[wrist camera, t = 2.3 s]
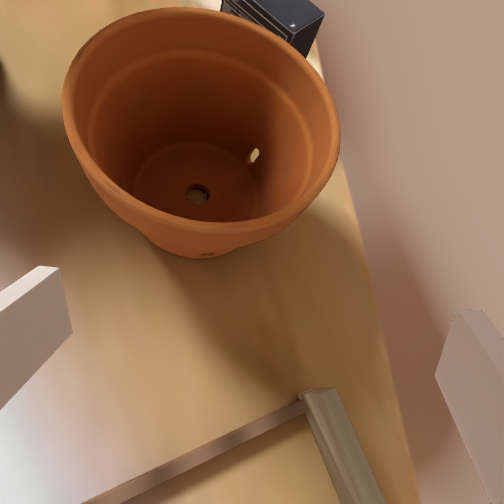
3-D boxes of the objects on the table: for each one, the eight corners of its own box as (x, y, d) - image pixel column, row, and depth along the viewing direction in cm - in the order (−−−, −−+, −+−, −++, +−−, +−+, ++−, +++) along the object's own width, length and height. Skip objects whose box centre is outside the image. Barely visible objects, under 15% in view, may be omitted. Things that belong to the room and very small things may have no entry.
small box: (298, 83, 51) (329, 12, 42) (268, 106, 48) (294, 35, 39) (243, 35, 52) (261, -46, 42) (210, 55, 49) (222, -26, 40)
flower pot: (86, 125, 42) (49, -4, 28) (261, 116, 48) (300, 7, 34) (108, 307, 35) (75, 253, 22) (307, 270, 41) (377, 211, 28)
